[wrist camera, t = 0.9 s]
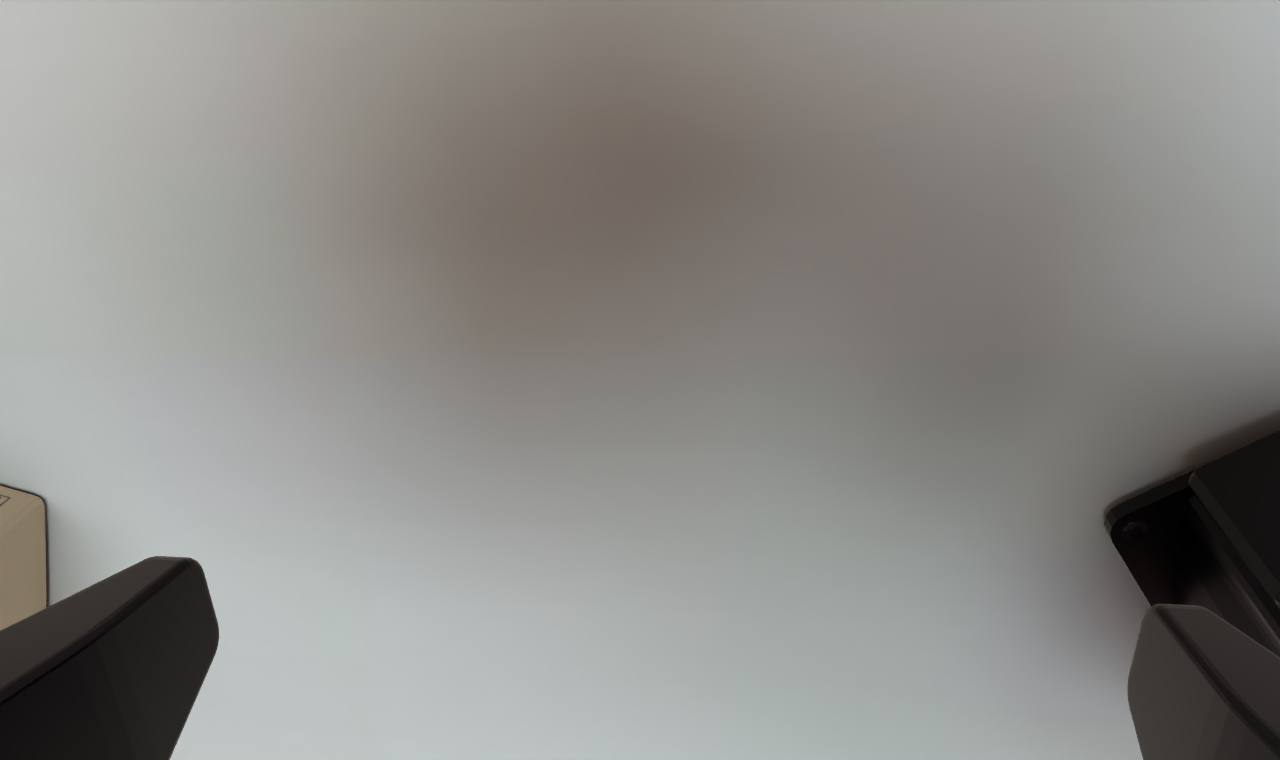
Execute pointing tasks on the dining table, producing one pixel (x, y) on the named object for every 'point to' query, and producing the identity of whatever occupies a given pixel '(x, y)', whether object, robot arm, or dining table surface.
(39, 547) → the skincare box
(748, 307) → the dining table surface
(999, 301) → the dining table surface
